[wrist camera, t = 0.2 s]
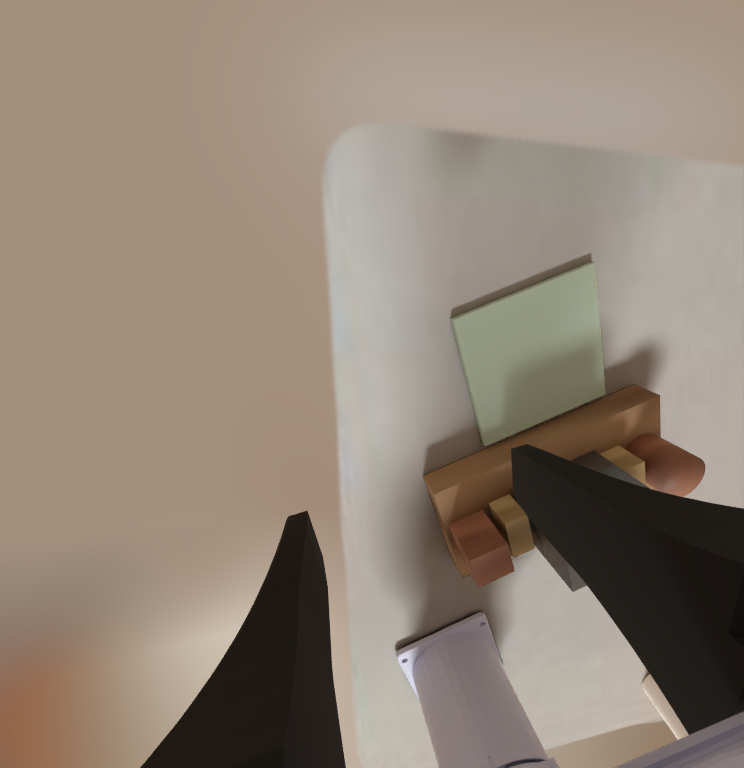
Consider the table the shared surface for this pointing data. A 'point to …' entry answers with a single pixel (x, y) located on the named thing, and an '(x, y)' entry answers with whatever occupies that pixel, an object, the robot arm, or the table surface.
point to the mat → (533, 353)
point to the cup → (663, 707)
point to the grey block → (545, 547)
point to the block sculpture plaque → (567, 440)
